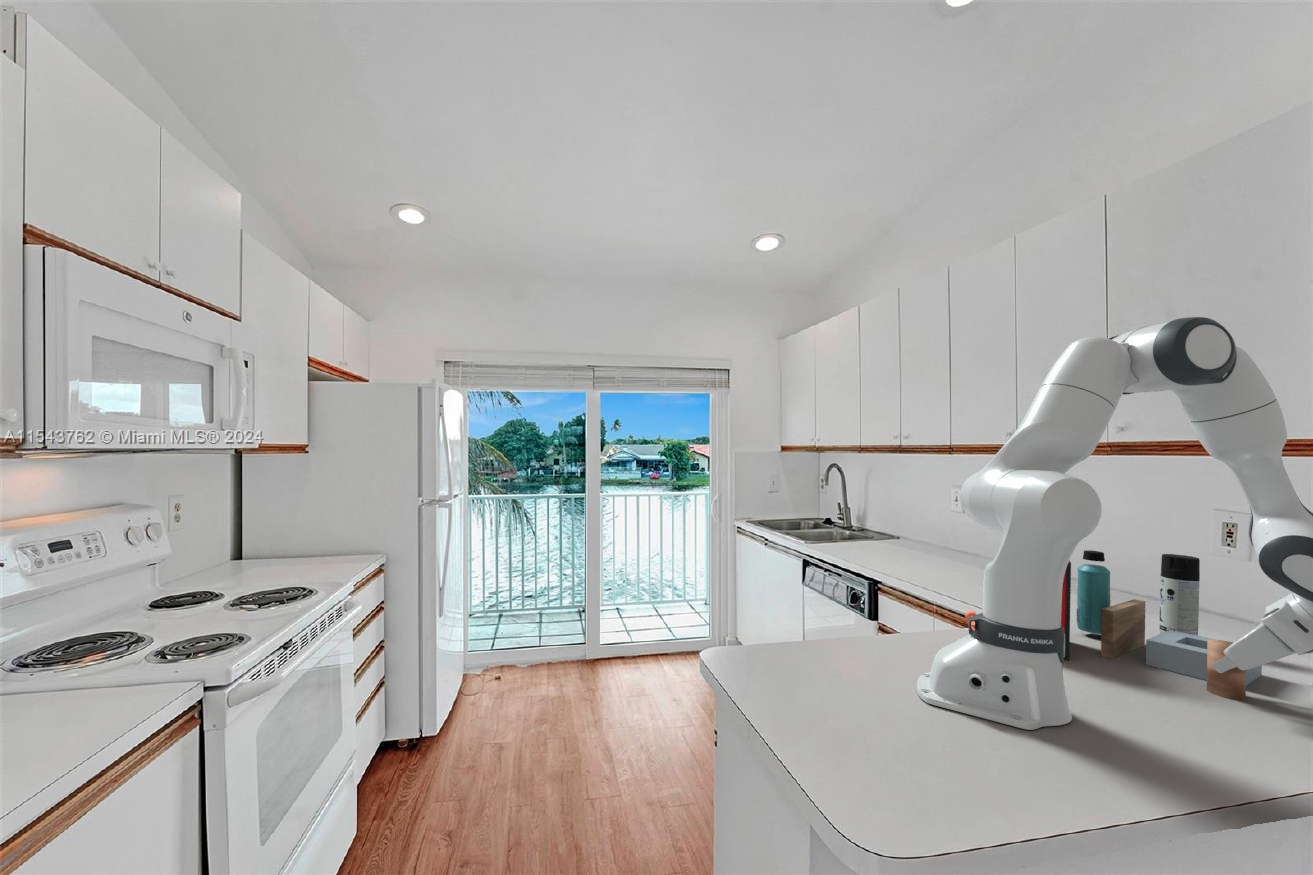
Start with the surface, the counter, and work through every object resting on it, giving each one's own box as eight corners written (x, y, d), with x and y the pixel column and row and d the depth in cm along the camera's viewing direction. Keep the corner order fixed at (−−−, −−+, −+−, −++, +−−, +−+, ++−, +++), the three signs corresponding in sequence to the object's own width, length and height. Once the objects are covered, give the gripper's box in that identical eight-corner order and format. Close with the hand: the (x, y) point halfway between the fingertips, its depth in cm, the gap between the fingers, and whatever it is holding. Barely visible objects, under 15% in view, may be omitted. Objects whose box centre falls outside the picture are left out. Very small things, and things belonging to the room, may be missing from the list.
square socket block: (1261, 675, 116) (1262, 649, 116) (1241, 689, 108) (1241, 661, 108) (1170, 653, 127) (1170, 630, 127) (1146, 664, 120) (1146, 639, 120)
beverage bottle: (1116, 642, 135) (1118, 554, 135) (1084, 639, 136) (1085, 552, 136) (1101, 633, 141) (1102, 549, 142) (1070, 631, 142) (1071, 547, 143)
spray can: (1161, 637, 140) (1162, 552, 140) (1200, 644, 135) (1201, 556, 135) (1157, 642, 135) (1158, 555, 136) (1196, 650, 130) (1198, 559, 131)
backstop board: (1144, 646, 133) (1145, 601, 133) (1112, 659, 123) (1113, 611, 123) (1133, 643, 134) (1134, 599, 134) (1100, 656, 124) (1101, 608, 124)
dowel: (1213, 697, 104) (1213, 645, 105) (1202, 687, 109) (1202, 637, 109) (1251, 703, 102) (1251, 650, 102) (1238, 692, 107) (1239, 642, 107)
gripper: (1296, 601, 106) (1222, 640, 114) (1267, 615, 94) (1186, 658, 102) (1334, 633, 102) (1254, 671, 110) (1308, 652, 91) (1221, 693, 99)
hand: (1221, 665), depth 106 cm, fingers closed on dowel, 5 cm apart
